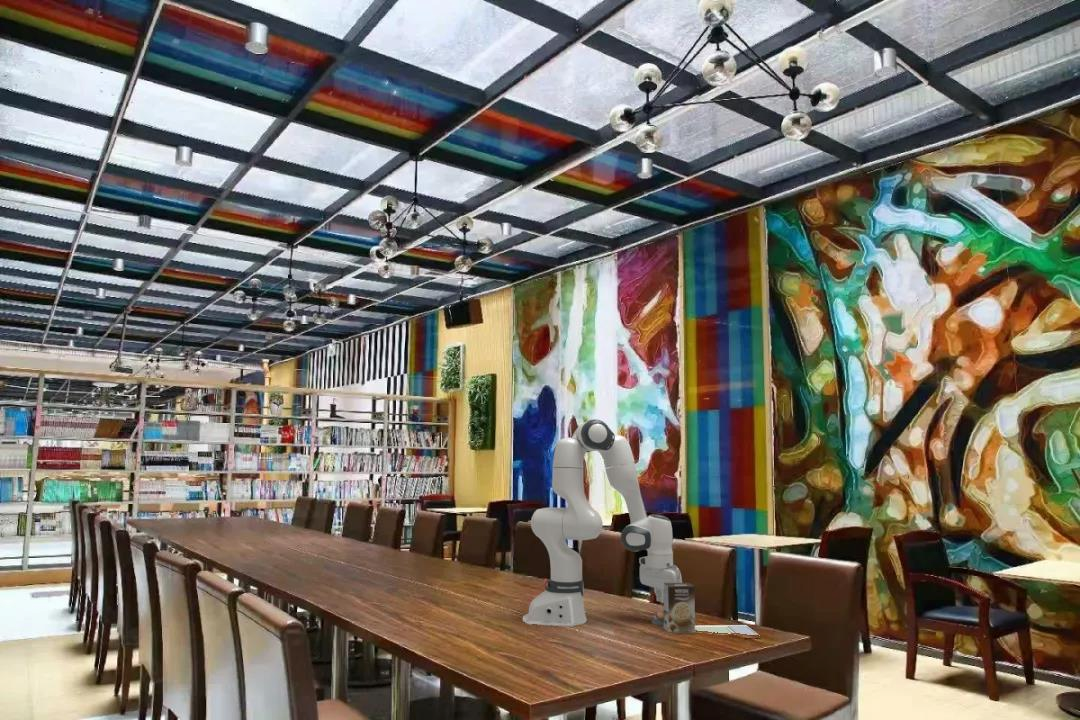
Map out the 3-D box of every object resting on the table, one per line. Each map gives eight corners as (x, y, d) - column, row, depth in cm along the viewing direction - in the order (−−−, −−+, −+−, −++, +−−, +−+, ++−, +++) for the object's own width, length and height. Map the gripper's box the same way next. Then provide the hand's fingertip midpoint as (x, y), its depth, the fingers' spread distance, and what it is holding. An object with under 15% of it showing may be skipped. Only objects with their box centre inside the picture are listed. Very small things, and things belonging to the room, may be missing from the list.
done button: (658, 620, 254) (658, 613, 254) (656, 618, 257) (656, 611, 257) (666, 620, 254) (666, 613, 254) (665, 618, 257) (664, 611, 257)
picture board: (700, 639, 238) (700, 637, 238) (688, 627, 253) (688, 625, 253) (761, 638, 239) (761, 636, 239) (746, 626, 254) (746, 624, 254)
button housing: (654, 627, 252) (654, 619, 252) (651, 623, 258) (651, 615, 258) (672, 627, 252) (672, 619, 252) (668, 623, 258) (668, 615, 258)
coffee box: (668, 636, 241) (667, 586, 243) (663, 631, 248) (662, 582, 249) (695, 635, 242) (694, 586, 244) (689, 630, 249) (689, 582, 250)
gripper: (686, 565, 251) (687, 607, 250) (650, 556, 269) (651, 595, 268) (671, 567, 248) (672, 609, 247) (636, 558, 266) (636, 597, 265)
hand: (661, 601), depth 258 cm, fingers closed
